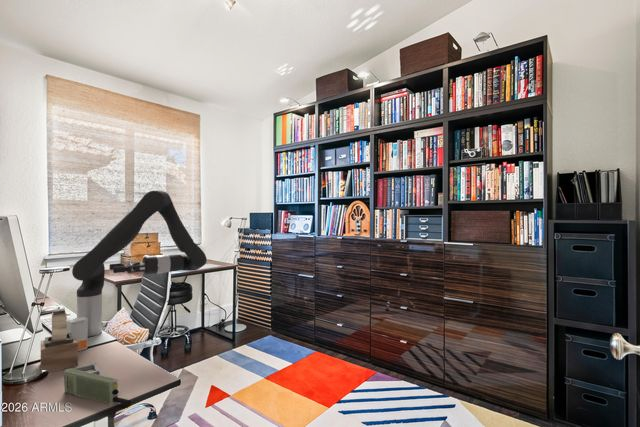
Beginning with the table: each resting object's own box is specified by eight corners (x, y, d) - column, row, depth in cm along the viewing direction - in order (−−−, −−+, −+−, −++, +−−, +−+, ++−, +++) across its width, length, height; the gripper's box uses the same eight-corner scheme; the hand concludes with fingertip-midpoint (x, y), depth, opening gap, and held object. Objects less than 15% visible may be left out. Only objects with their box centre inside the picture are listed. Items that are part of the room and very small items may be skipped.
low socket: (69, 373, 115) (69, 369, 115) (95, 366, 120) (96, 363, 120) (70, 381, 109) (70, 378, 109) (99, 374, 114) (99, 371, 114)
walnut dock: (40, 363, 122) (40, 337, 122) (75, 355, 129) (75, 331, 129) (41, 373, 115) (41, 346, 115) (77, 365, 121) (77, 339, 121)
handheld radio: (73, 387, 106) (134, 404, 97) (62, 393, 103) (124, 410, 94) (72, 366, 106) (134, 380, 97) (61, 371, 103) (123, 386, 94)
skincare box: (70, 354, 130) (70, 322, 130) (65, 351, 133) (65, 320, 132) (88, 348, 136) (88, 318, 136) (82, 346, 138) (82, 316, 138)
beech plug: (51, 341, 122) (51, 309, 122) (65, 338, 125) (65, 307, 124) (52, 344, 119) (52, 312, 119) (66, 341, 122) (66, 310, 121)
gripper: (152, 253, 148) (108, 256, 138) (161, 257, 137) (114, 260, 127) (152, 271, 148) (108, 275, 138) (161, 276, 137) (114, 281, 127)
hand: (111, 268), depth 133 cm, fingers open, 8 cm apart
